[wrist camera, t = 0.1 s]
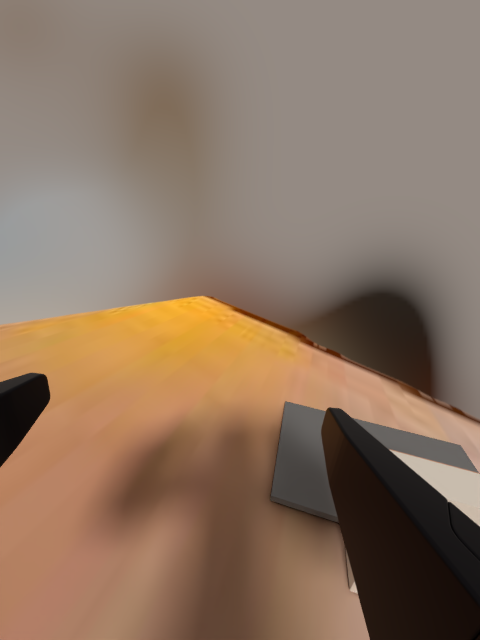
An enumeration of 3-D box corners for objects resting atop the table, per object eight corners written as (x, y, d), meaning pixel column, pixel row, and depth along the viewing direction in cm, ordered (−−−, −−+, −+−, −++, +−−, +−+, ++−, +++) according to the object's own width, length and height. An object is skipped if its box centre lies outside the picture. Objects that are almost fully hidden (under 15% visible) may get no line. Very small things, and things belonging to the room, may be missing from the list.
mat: (551, 592, 19) (555, 587, 18) (270, 500, 22) (271, 495, 22) (458, 449, 30) (460, 445, 30) (284, 405, 34) (285, 401, 34)
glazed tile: (488, 642, 16) (586, 539, 12) (349, 590, 17) (399, 485, 14) (465, 586, 18) (540, 486, 15) (345, 545, 20) (386, 445, 16)
